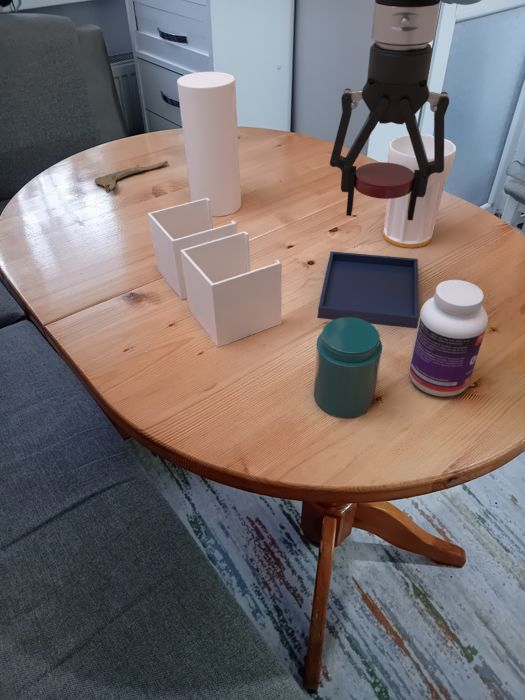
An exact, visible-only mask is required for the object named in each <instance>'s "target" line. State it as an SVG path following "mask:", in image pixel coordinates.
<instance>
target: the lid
mask: <svg viewBox="0 0 525 700" xmlns="http://www.w3.org/2000/svg"><path fill="white" fill-rule="evenodd" d="M413 182H414V173H413V171H412V170H410V169H409V168H407V167H405V166H402V165H399V164H394V163H388V162H386V161H385V162H383V161H382V162H381V161H380V162H371V163H366V164H363V165H360V166H359V167H358V168H356V173H355V183H354V186H355V188H354V190H356V191H357V192H359V193H360V194H361V195H364V196H366V197H370V198H375V199H381V200H387V199H393V198H399V197H403V196H405V195H407V194H409V193H410V192H411V191H412V187H413Z"/></svg>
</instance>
